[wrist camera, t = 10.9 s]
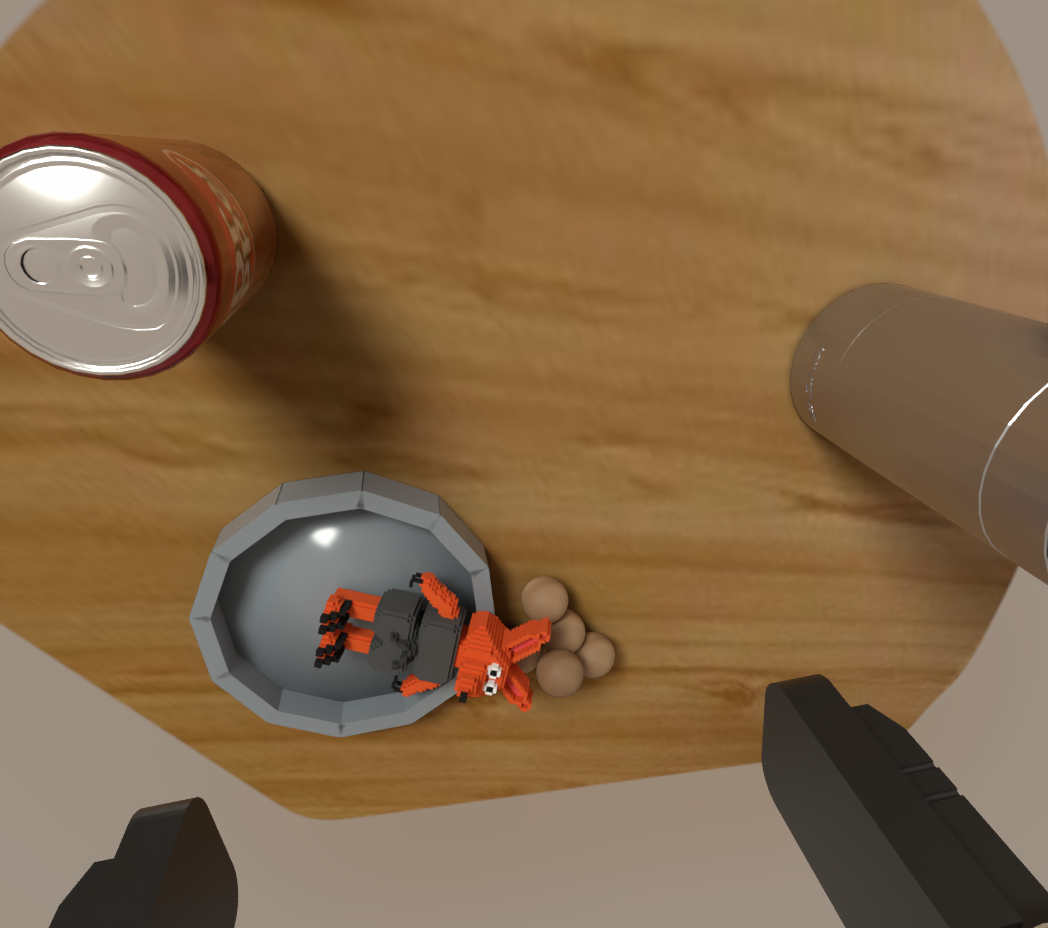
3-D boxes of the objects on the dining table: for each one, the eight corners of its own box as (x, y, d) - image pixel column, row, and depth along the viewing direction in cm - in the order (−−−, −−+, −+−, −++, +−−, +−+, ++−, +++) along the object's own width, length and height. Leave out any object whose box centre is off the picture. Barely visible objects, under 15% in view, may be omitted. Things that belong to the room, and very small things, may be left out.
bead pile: (604, 556, 42) (628, 603, 37) (608, 653, 45) (631, 707, 41) (486, 576, 41) (496, 626, 37) (499, 674, 44) (510, 731, 40)
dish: (471, 454, 38) (476, 472, 35) (501, 678, 44) (506, 705, 42) (168, 499, 36) (153, 521, 34) (247, 726, 43) (239, 756, 40)
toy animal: (311, 597, 33) (554, 651, 33) (347, 544, 38) (557, 592, 38) (296, 725, 36) (520, 774, 36) (331, 660, 41) (527, 703, 41)
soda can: (280, 153, 30) (214, 152, 19) (279, 317, 33) (222, 395, 22) (98, 127, 29) (-83, 109, 18) (114, 301, 32) (-34, 376, 21)
